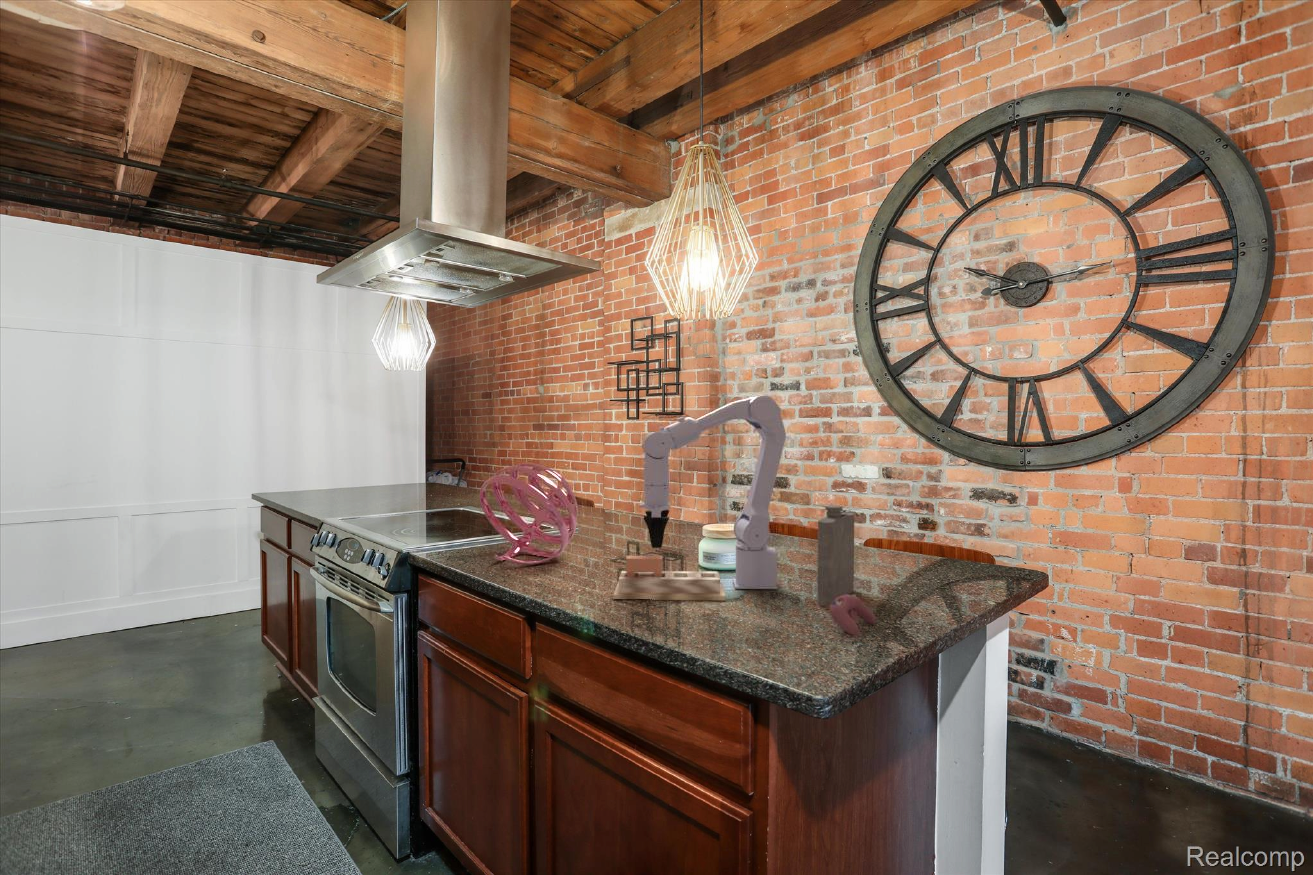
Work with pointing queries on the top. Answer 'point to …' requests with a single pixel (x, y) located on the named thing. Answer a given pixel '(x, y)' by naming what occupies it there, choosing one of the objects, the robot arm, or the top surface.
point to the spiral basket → (532, 510)
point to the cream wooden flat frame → (670, 586)
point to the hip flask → (835, 555)
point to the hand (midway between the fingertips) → (657, 544)
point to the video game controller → (850, 613)
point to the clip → (644, 565)
